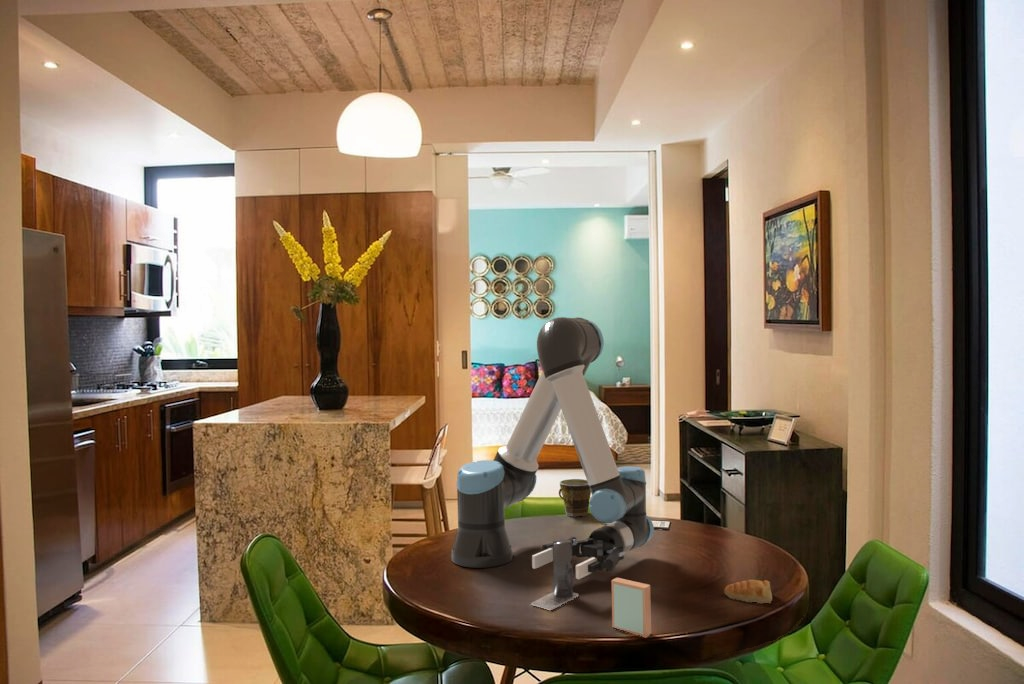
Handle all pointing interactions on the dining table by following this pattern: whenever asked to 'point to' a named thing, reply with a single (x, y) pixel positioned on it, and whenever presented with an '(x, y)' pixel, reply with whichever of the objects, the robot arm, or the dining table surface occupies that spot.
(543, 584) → the dining table surface
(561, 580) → the metal post on base
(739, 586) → the pastry
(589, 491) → the ceramic cup
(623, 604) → the tile
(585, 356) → the robot arm
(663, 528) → the chocolate bar
